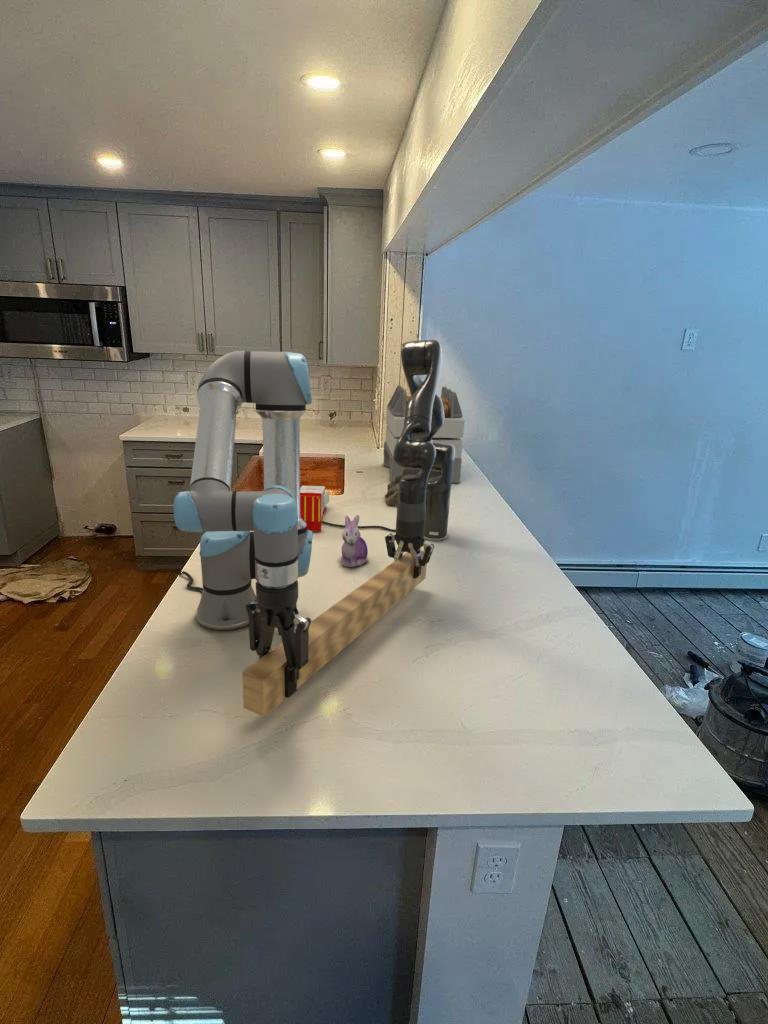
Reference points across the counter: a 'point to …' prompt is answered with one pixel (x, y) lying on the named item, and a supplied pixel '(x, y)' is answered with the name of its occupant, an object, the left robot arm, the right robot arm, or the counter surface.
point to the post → (330, 633)
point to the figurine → (353, 544)
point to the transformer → (446, 435)
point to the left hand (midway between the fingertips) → (279, 688)
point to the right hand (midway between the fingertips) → (407, 574)
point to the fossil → (393, 491)
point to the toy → (313, 505)
